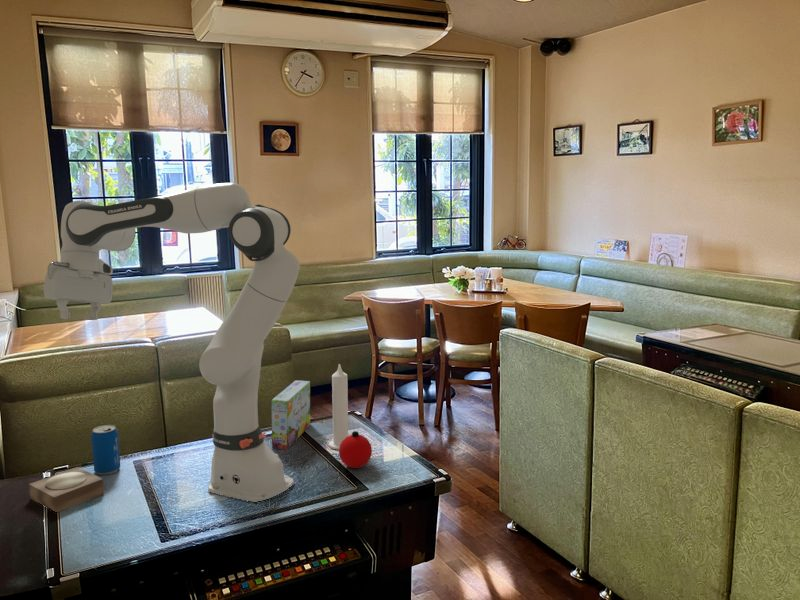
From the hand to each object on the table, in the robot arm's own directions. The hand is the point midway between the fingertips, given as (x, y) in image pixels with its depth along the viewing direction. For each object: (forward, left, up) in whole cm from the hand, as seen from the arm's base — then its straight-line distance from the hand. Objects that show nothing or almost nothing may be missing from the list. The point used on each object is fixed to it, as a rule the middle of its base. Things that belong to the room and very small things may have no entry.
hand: (79, 319), depth 162 cm
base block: (-5, +9, -43) cm, 44 cm away
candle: (-39, -55, -43) cm, 80 cm away
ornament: (-52, -46, -43) cm, 82 cm away
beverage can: (+1, -5, -43) cm, 43 cm away
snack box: (-22, -52, -43) cm, 71 cm away
